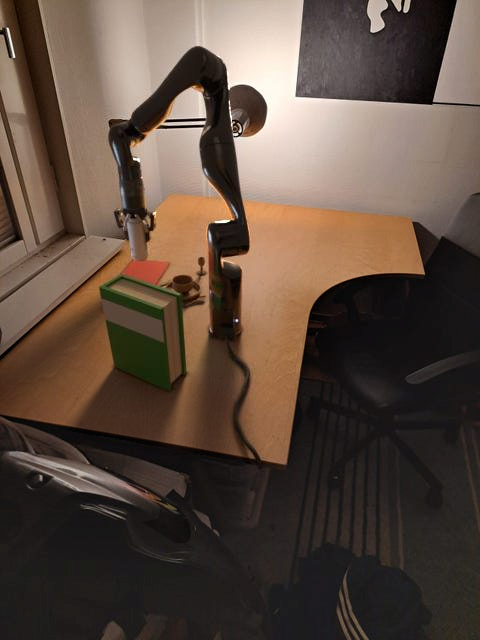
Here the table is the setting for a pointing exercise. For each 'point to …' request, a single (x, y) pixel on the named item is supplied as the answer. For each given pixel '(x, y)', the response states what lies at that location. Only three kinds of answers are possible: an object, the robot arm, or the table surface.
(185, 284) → the place setting
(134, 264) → the cloth
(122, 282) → the hardback book
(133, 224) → the energy drink can
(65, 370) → the table surface
